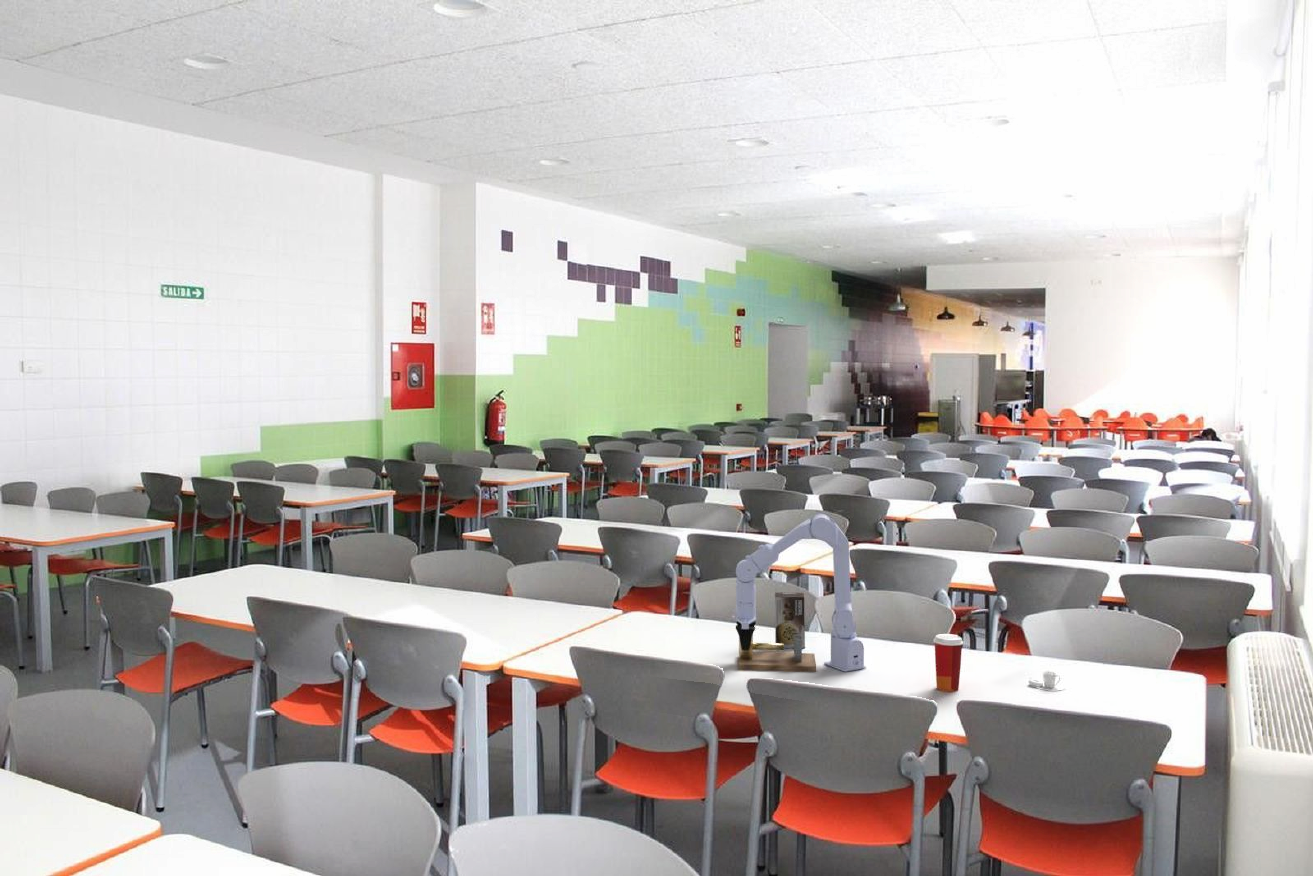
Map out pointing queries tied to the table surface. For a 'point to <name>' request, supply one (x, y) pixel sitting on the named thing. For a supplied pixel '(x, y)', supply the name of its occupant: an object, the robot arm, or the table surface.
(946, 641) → the paper cup
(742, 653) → the gold cylinder with rod
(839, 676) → the table surface
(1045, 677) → the teacup and saucer
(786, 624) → the coffee box
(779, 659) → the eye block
